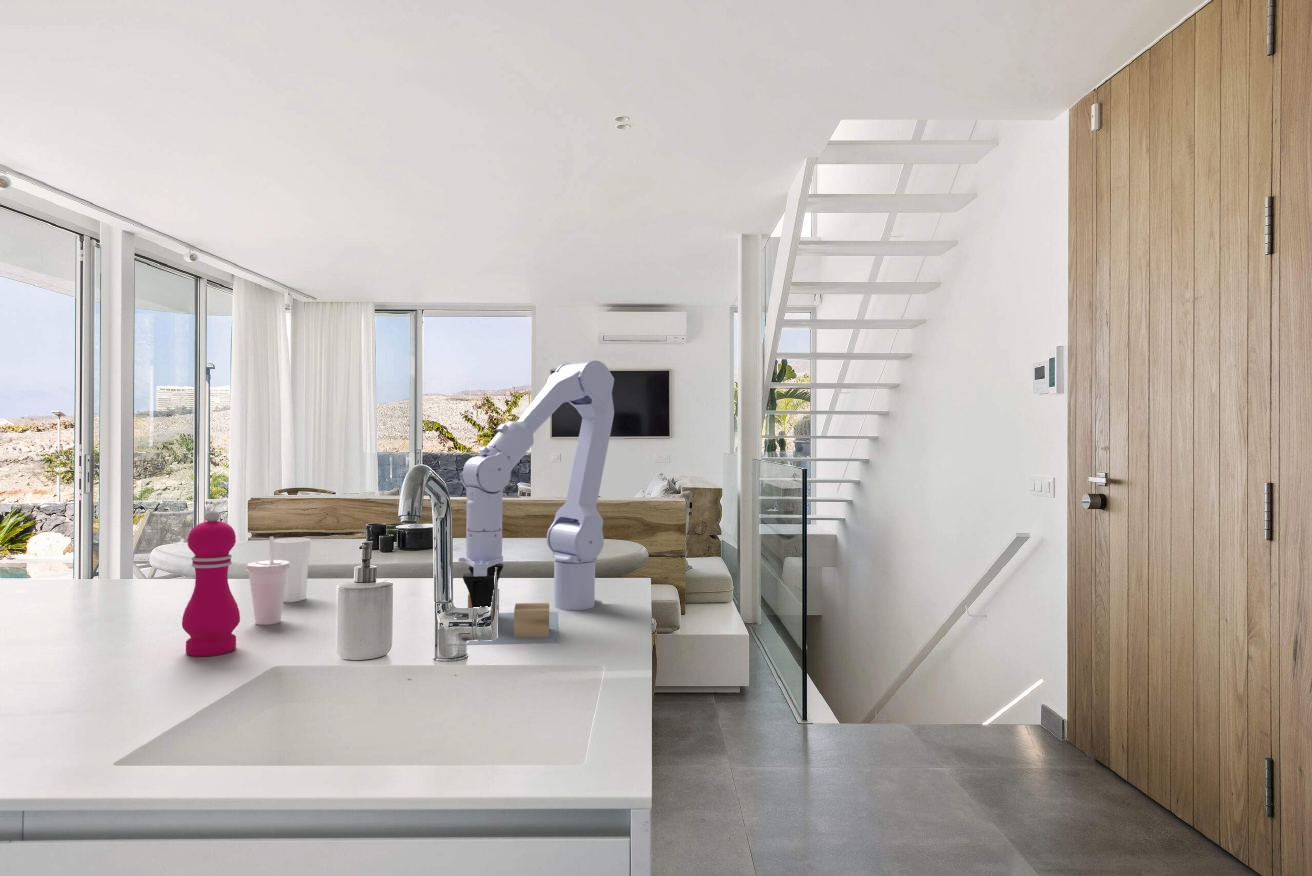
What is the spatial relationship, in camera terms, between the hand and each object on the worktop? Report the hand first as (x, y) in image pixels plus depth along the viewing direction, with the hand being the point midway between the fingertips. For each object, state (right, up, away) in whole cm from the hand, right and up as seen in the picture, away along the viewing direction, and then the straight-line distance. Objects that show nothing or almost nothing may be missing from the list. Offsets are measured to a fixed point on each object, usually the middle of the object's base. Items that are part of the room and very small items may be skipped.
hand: (483, 613), depth 131 cm
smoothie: (-35, -2, 0) cm, 35 cm away
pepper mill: (-35, -2, -17) cm, 39 cm away
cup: (-40, -2, +18) cm, 44 cm away
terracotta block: (0, -1, 0) cm, 1 cm away
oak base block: (+9, -1, -8) cm, 12 cm away
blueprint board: (+5, -2, -4) cm, 7 cm away
